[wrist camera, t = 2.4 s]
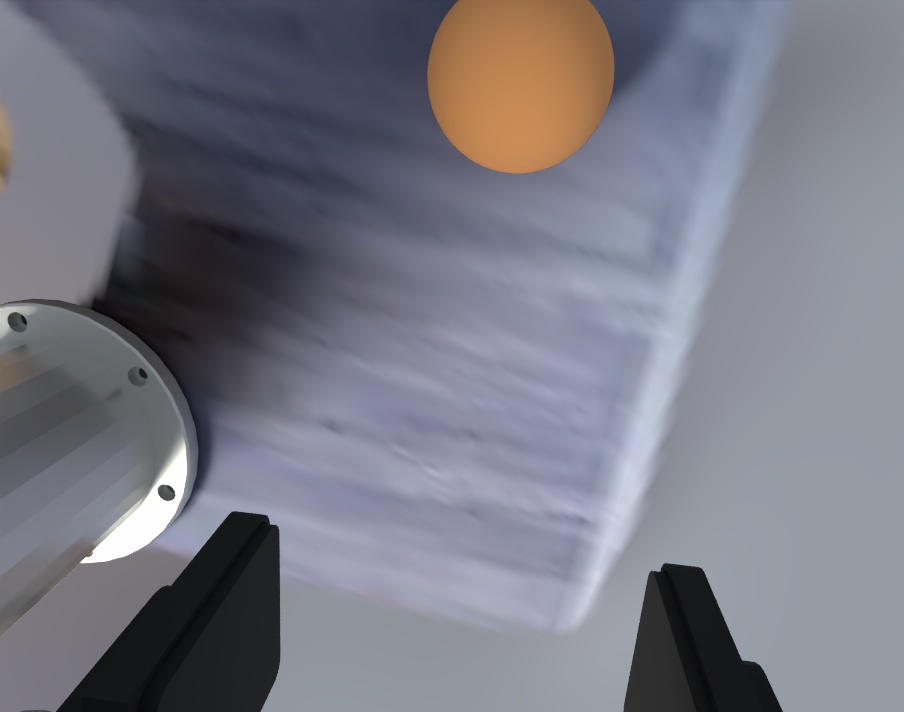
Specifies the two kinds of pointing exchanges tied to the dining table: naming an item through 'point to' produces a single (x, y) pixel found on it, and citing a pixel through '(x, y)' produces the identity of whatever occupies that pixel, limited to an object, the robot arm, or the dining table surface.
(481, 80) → the ball
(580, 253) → the dining table surface
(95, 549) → the robot arm
